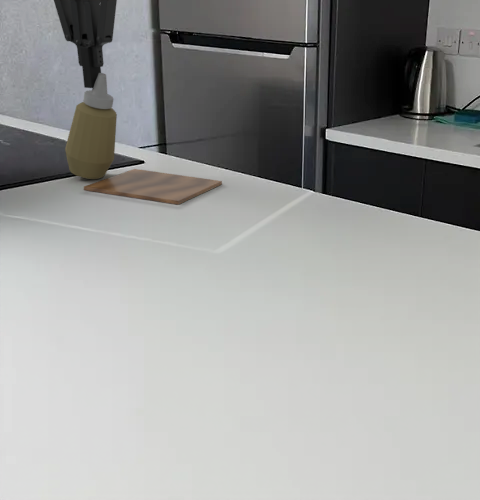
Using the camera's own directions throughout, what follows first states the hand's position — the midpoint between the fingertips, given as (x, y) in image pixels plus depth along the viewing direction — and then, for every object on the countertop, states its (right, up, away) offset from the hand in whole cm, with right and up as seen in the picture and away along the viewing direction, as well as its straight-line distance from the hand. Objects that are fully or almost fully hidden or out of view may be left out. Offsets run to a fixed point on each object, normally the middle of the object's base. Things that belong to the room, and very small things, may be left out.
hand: (93, 86), depth 114 cm
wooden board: (+10, -17, +2) cm, 19 cm away
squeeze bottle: (-3, -14, +6) cm, 16 cm away
